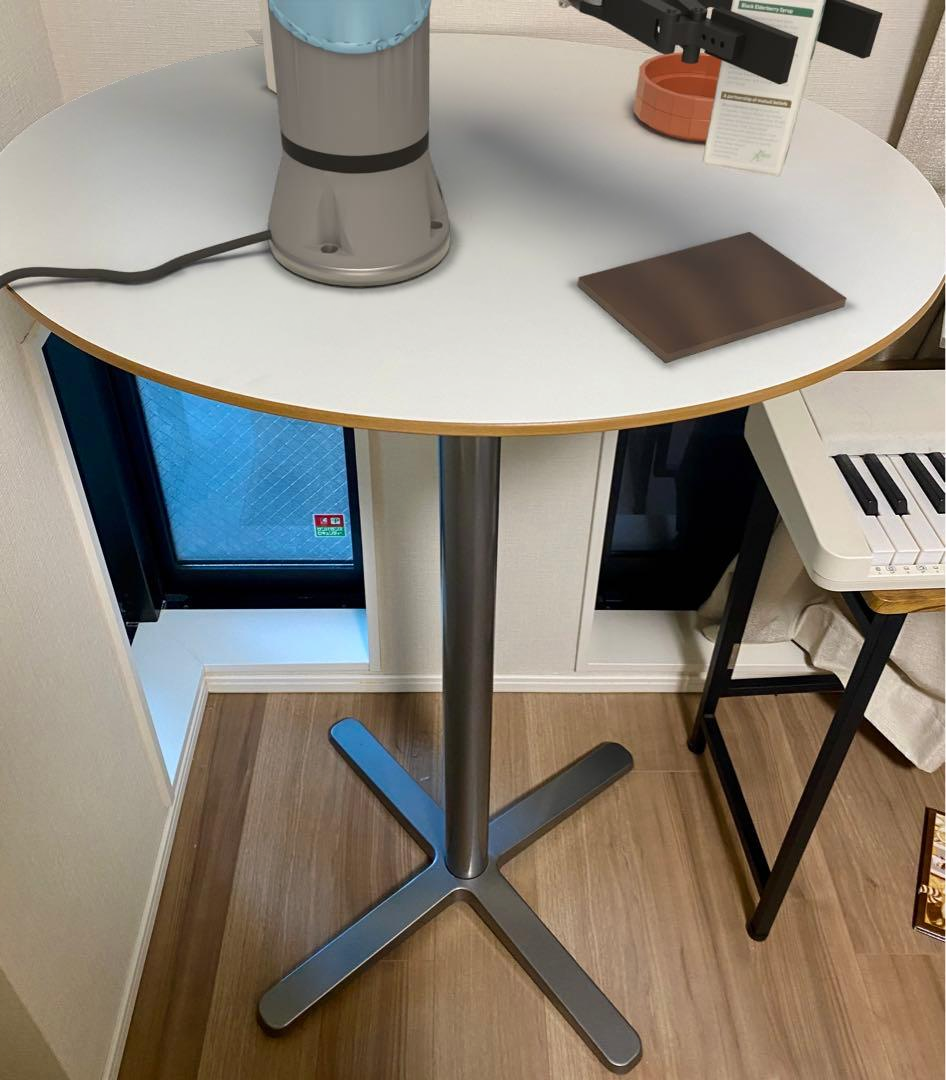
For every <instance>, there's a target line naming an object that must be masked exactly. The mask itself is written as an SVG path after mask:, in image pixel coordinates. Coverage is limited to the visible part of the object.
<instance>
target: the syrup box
mask: <svg viewBox="0 0 946 1080" xmlns="http://www.w3.org/2000/svg"><path fill="white" fill-rule="evenodd" d="M825 3H826V0H733V3H732V8H731V11H733V12H735V13H738V14H740V15H743V16H746V17H748V18H751V19H753V20H756V21H758V22H761V23H764V24H766V25H769V26H771V27H774V28H777V29H779V30H782V31H784V32H787V33H790V34H792V35H795V36H797V37H798V41H797V45H796V49H795V53H794V57H793V61H792V65H791V69H790V73H789V77H788V81H787V83H784V84H780V85H779V84H776V83H774V82H772V81H769V80H767V79H765V78H762V77H760V76H758V75H755V74H753V73H751V72H748V71H746V70H744V69H741V68H739V67H736V66H734V65H732V64H729V63H727V62H725V61H722V60H721V65H720V71H719V76H718V81H717V87H716V92H715V97H714V102H713V108H712V113H711V118H710V123H709V128H708V134H707V139H706V142H705V144H704V145H705V146H704V151H703V156H702V163H703V164H705V165H707V166H713V167H717V168H721V169H725V170H732V171H736V172H742V173H749V174H755V175H762V176H769V177H775V178H779V177H780V176H781V174H782V172H783V169H784V166H785V164H786V160H787V158H788V153H789V150H790V146H791V143H792V138H793V135H794V131H795V127H796V123H797V119H798V116H799V113H800V109H801V103H802V101H803V96H804V92H805V90H806V89H805V88H806V85H807V81H808V77H809V73H810V70H811V66H812V61H813V59H814V54H815V51H816V48H817V47H816V46H817V42H818V41H817V38H818V34H819V30H820V25H821V21H822V16H823V12H824V8H825Z"/></svg>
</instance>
